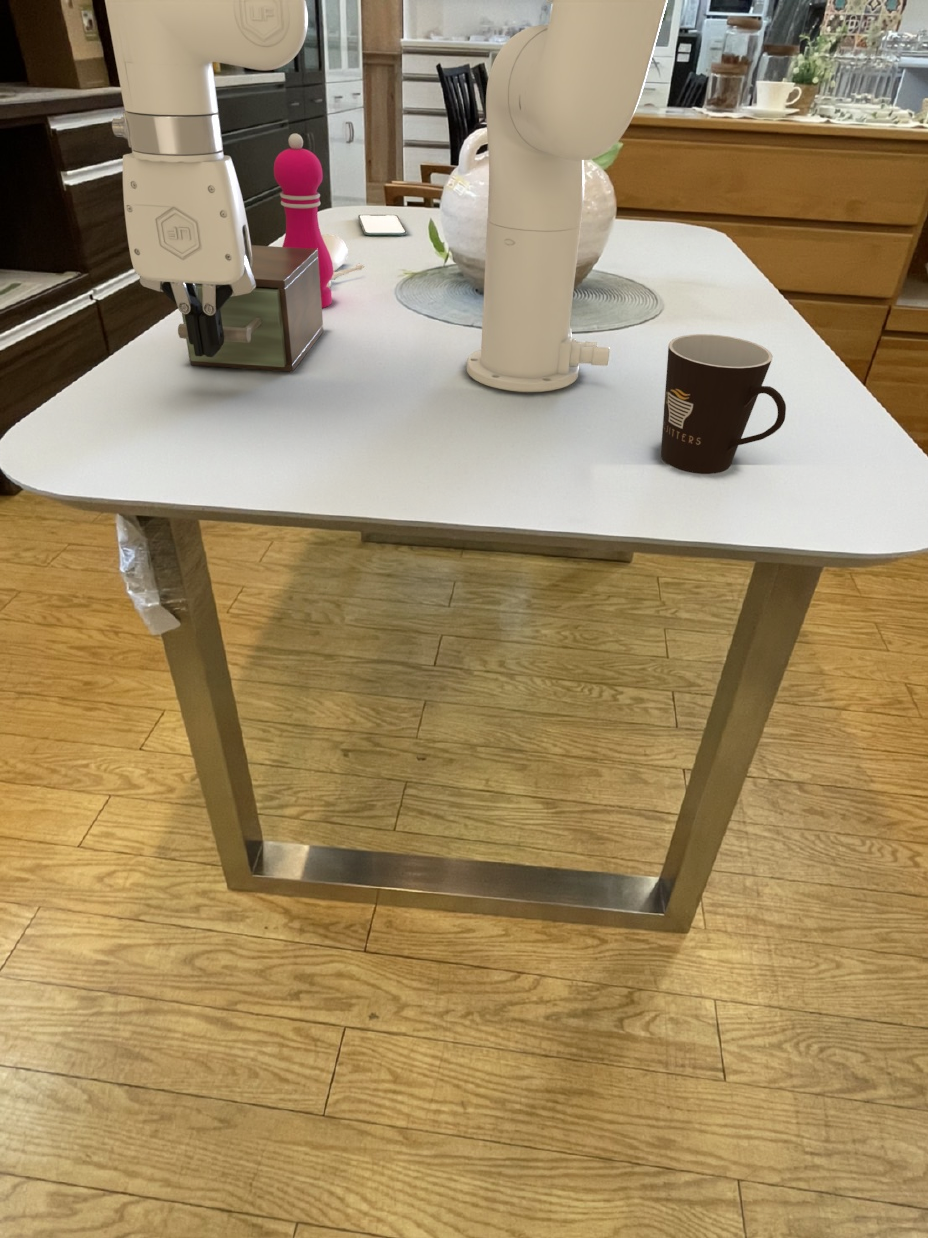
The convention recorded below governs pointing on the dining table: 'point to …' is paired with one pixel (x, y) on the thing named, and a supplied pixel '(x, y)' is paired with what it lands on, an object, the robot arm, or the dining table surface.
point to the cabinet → (288, 299)
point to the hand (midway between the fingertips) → (208, 351)
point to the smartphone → (381, 225)
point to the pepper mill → (303, 206)
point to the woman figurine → (338, 255)
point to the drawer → (247, 330)
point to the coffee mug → (712, 400)
